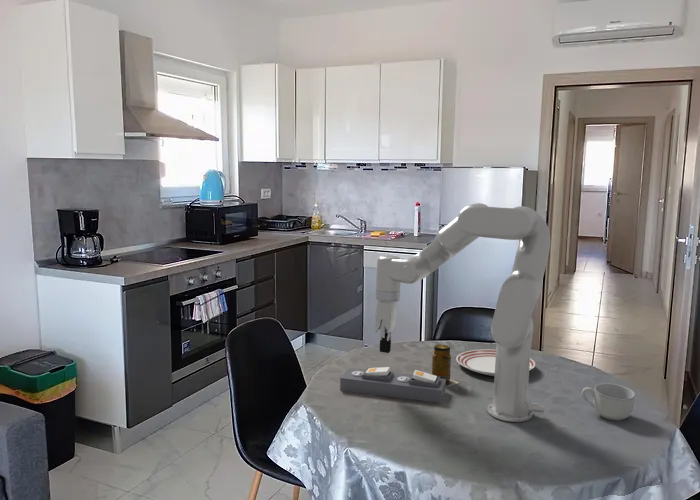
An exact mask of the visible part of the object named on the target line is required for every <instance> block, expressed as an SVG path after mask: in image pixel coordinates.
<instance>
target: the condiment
mask: <svg viewBox="0 0 700 500" xmlns="http://www.w3.org/2000/svg"><path fill="white" fill-rule="evenodd" d="M451 360H452V355H451V347H450V346H449V345H447V344H443V343H442V344H435V345H434V347H433V354H432V363H431V374H432V375H435V376H437V377H440V378H441V379H446V388H448V387H451V386H455V385H457V384H459V383H460V382H459V381H456V380H453V379H451V362H452V361H451Z"/></svg>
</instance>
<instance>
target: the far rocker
mask: <svg viewBox="0 0 700 500" xmlns="http://www.w3.org/2000/svg"><path fill="white" fill-rule="evenodd" d="M390 371H391V367H390V366H384V367H370V368H368V370H367V371H366V375H373V376H381V375H388V373H389V372H390Z"/></svg>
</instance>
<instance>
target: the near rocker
mask: <svg viewBox="0 0 700 500" xmlns="http://www.w3.org/2000/svg"><path fill="white" fill-rule="evenodd" d="M412 374H413V376H412V378H414V379H417V380H420V381H424V382H432V383H435V381H436V379H437V376H435V375H432V373H428V372H424V371H422V370H418V369H415V370H414V371H413V373H412Z"/></svg>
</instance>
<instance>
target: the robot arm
mask: <svg viewBox="0 0 700 500" xmlns="http://www.w3.org/2000/svg"><path fill="white" fill-rule="evenodd" d="M479 238H487V239H488V238H489V239H497V240H499V239H500V240H507V241H517V240H518V245H517V246H518V247H517V249H516V252H515V256H514V262H513V265H512V269H511V273H510V275H509V277H508V278H506V279H505V280H504V282H503V283H502V285H501V288H500V290H499V294H498V297H497V301H496V305H495V308H494V309H495V310H494V314H493V318H492V322H491V328H490V332H491V336H492V338H493V340H494V341H495V343H496V347H495V348H496V349H495V350H496V360H495V376H494V379H493V381H494V382H493V396H492V397H493V400H492V402H491V403H489V404H488V405H487V412H488V414H489V415H490V416H492V417H493V418H496V419H497V420H501V421H504V422H511V423H520V422H526V421H529V420H531V419H532V417H533V413H534V412H535V413H540V414H544V413H545V412H544V409H545V406H544V405H540V402H539V403H538V402H531V401H529V400H530V398H529V396H528V395H529V381H530V380H529V379H530V371H529V368H530V358H531V355H532V354H531V353H532V352H531V350H532V342H533V335H534V320H533V313H534V309H535V305H536V301H538V298H539V296H540V294H541V290H542V284H543V279H544V276H545V271H546V267H547V262H548V258H549V253H550V248H551V233H550V228H549V226H548V223H546V221H545V219H544V218H543V217H542V215H540V213H538V212H537V211H536V210H535V209H533V208H531V207H528V206H523V205H522V206H521V205H520V206H515V207H500V206H499V207H498V206H496V207H494V206H488V205H487V204H485V203H481V202H479V203H478V202H477V203H473V204H472V203H471V204H469V205H467V206H464V207H463V208H462V209H461V210H460V212H459V213H458V215H457V216H456V217H455V218H454V219H452V220H451V221H450V222H448V223H447V224H446V225H445V226H443V227H442V228H441V229H440V230H439V231H437V233H436V235H435V238H434V239H433V240H432V241H431V242H430V243H429V244H428V245H427V246H426V247H424V248H423V249H422V250H420V251H419V252H418V253H417V254H415V255H413V256H411V257H408V258H405V259H402V258H401V257H399V256H397V255H392V254H391V255H389V254H388V255H380V256H379V257H378V258H377V262H376V283H375V301H377V303H376V309H375V318H374V319H375V320H374V329H373V330H374V333H378V331H379V333H380V334H379V335H380V336H379V352H380V353H386V354H390V353H391V347H392V339H391V338H392V331H393V330H394V328H395V326H396V323H397V303H398V302H400V301H401V300H400V299H401V284H406V285H412V284H416V283H417V282H419V281H421V280H423V279H425V278H427V277H428V276H429V275H431V274H432V273H433V272H435V271H436V270H437V269H439V268H440V267H441V266H443V265H444V264H445V263H447V262H448V261H449V260H450V259H452V258H454V257H455V256H456V255H458V254H459V253H460V252H461V251H463V250H464V249H465V248H467V246H469V245H471V244H472V243H473V242H474V241H476V240H477V239H479Z"/></svg>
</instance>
